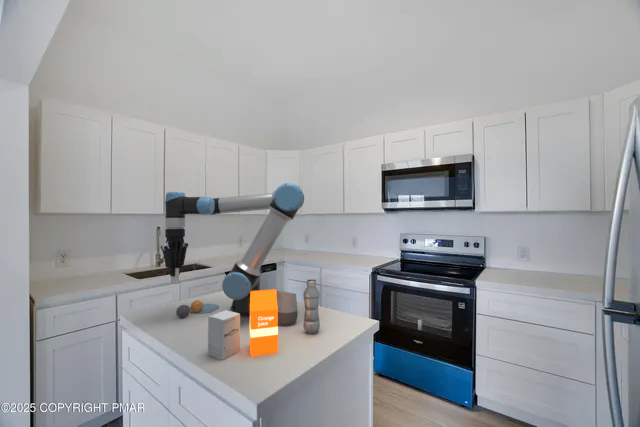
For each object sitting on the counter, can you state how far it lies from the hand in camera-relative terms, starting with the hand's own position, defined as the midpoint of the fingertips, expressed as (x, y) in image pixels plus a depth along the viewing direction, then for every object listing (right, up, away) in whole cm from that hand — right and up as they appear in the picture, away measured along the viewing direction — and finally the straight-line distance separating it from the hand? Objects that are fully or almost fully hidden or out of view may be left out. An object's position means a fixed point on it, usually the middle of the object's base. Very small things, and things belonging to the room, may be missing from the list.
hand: (174, 283), depth 119 cm
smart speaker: (+48, -17, -1) cm, 51 cm away
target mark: (+5, -17, +17) cm, 24 cm away
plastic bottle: (+59, -16, -11) cm, 62 cm away
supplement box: (+30, -16, -27) cm, 44 cm away
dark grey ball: (+1, -14, +5) cm, 15 cm away
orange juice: (+43, -16, -25) cm, 52 cm away
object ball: (+4, -14, +12) cm, 19 cm away
